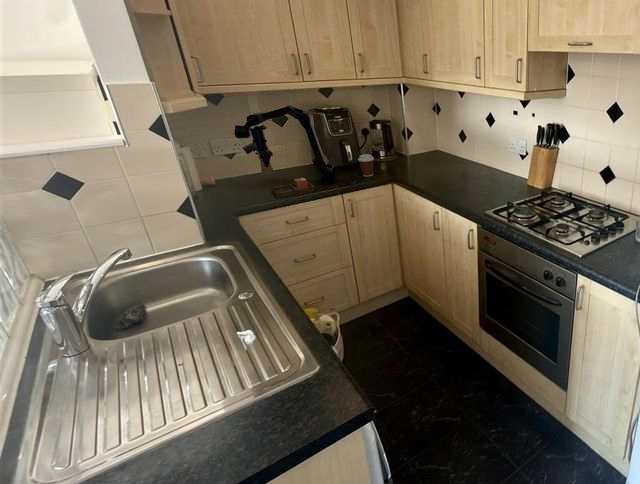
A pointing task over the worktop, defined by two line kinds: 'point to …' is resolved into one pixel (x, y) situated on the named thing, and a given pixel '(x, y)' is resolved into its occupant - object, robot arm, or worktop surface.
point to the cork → (266, 169)
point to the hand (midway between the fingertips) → (265, 166)
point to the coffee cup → (366, 164)
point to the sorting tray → (291, 190)
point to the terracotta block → (300, 183)
